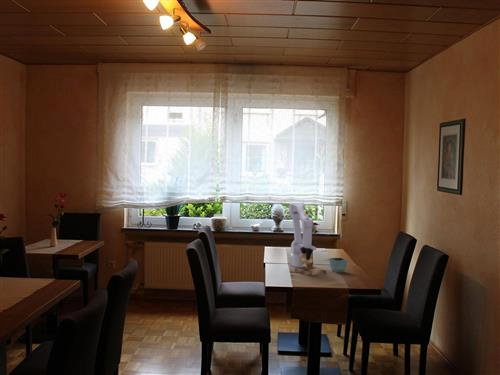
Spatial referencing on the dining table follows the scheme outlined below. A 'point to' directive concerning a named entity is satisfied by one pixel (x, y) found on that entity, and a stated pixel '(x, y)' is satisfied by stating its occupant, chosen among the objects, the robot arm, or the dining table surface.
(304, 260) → the tall block
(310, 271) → the offcut board upper
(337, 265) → the flower pot
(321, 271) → the offcut board lower
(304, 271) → the rack
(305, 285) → the dining table surface
